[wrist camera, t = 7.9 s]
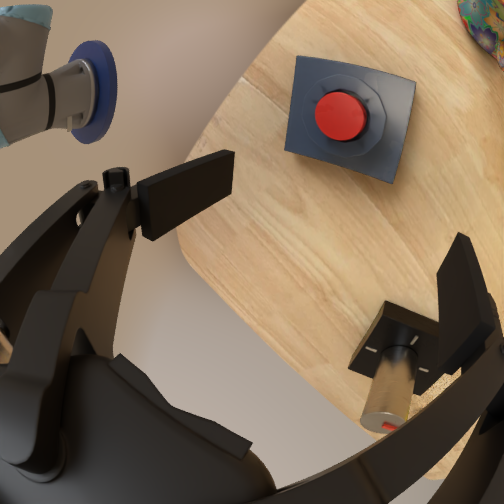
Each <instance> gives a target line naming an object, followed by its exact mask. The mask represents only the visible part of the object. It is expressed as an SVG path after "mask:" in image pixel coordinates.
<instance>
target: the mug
mask: <svg viewBox="0 0 504 504" xmlns="http://www.w3.org/2000/svg"><path fill="white" fill-rule="evenodd" d="M458 9H459V13H460V16H461V18H462V20H463V22H464V24H465V26H466V28H467V29H468V31H469V32H470V34H471V35H472V37H473V38H474V39H475V40H476V41H477V43H478V44H479V45H480V46H481V47H482V48H483V49H484V50H486V51H487V52H488V53H489V54H490V55H492V56H493V57H494V58H496V59H497V60H498V64H499V67H500V68H501V69H502V71H504V0H458Z"/></svg>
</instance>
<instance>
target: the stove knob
mask: <svg viewBox="0 0 504 504" xmlns="http://www.w3.org/2000/svg"><path fill="white" fill-rule="evenodd" d="M417 363H418V357H417V354H416V353H415V352H414V351H413V350H411V349H410V348H407V347H403V346H394V347H390V348H387V349H386V350H384V351H383V352H382V353H381V354H380V357H379V360H378V364H377V368H376V371H375V375H374V378H373V382H372V385H371V388H370V392H369V395H368V398H367V401H366V404H365V407H364V410H363V413H362V416H361V418H360V423H361V425H362V426H363V427H364V428H366V429H367V430H370V431H372V432H376V433H382V434H389V433H390V432H392V431H393V430H395V429H396V428H398V427H399V426H401V425H402V424H403V423H405V422H406V421H407V419H408V414H409V410H410V405H411V400H412V395H413V389H414V383H415V377H416V371H417Z"/></svg>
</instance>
